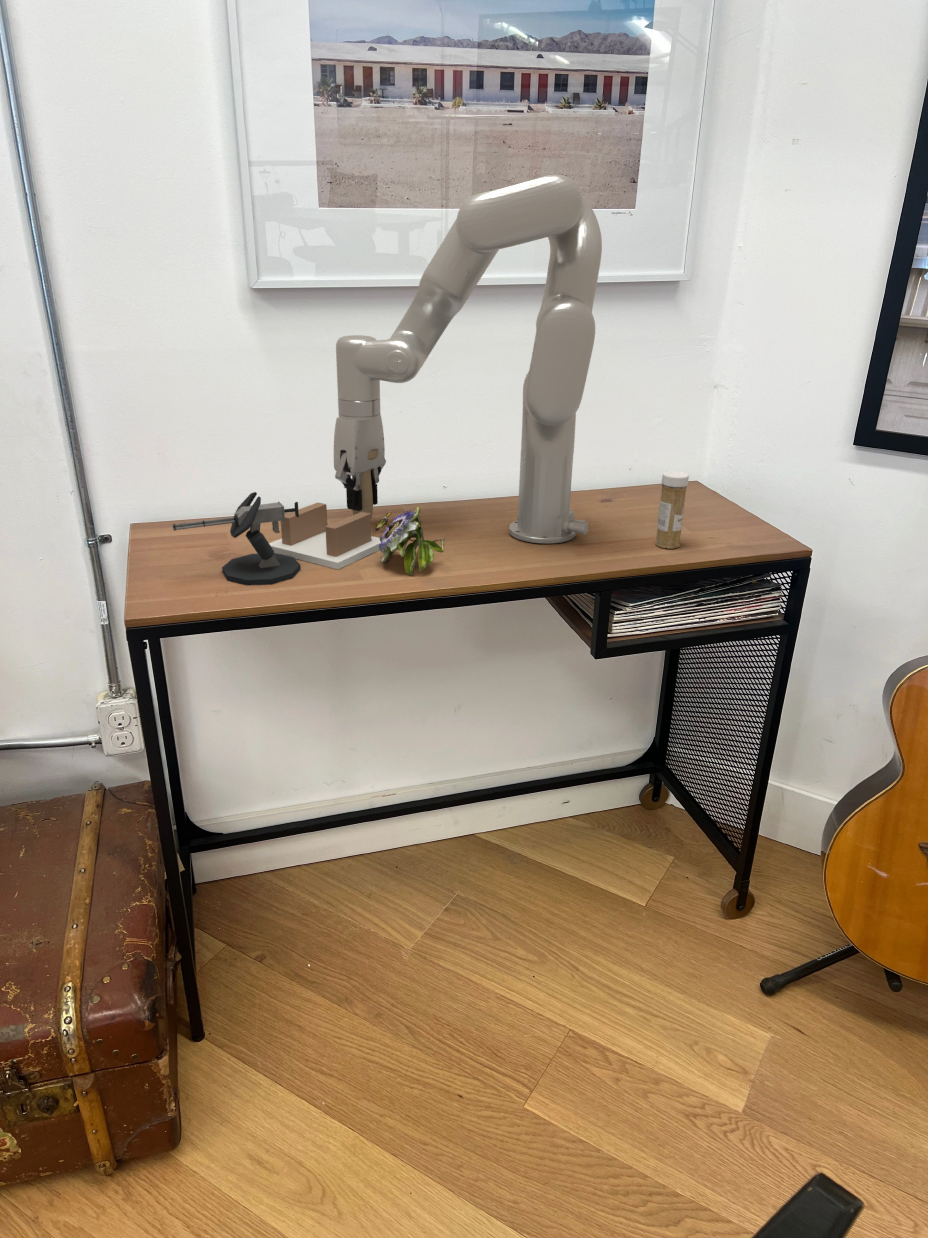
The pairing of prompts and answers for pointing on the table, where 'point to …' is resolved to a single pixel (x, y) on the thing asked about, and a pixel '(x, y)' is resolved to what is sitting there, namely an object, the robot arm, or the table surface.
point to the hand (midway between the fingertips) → (362, 505)
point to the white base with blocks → (326, 537)
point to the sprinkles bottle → (671, 509)
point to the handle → (367, 487)
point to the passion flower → (401, 534)
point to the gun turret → (255, 543)
